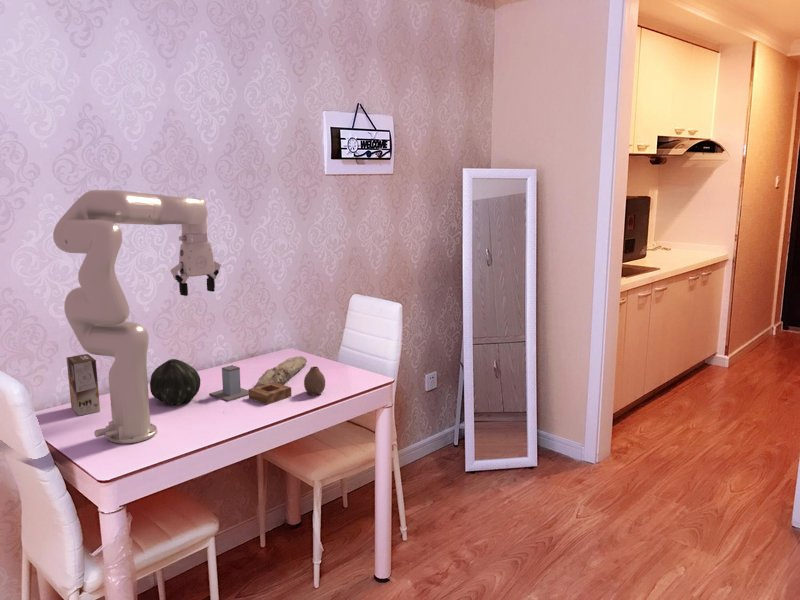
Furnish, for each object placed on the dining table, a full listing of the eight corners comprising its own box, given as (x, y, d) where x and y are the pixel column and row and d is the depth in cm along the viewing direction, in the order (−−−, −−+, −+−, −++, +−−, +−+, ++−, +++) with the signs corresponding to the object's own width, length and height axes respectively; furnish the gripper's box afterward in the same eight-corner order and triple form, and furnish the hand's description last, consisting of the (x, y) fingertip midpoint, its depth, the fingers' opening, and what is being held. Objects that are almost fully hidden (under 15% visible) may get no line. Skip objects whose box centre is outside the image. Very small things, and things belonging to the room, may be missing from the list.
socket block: (267, 404, 201) (266, 395, 200) (248, 398, 206) (248, 389, 206) (291, 396, 209) (291, 387, 208) (273, 390, 214) (272, 381, 214)
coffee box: (101, 411, 194) (96, 359, 191) (78, 416, 190) (73, 363, 187) (92, 403, 201) (88, 353, 198) (70, 407, 197) (65, 356, 194)
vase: (319, 397, 207) (319, 371, 206) (300, 395, 210) (299, 369, 208) (328, 391, 214) (328, 365, 212) (310, 388, 216) (309, 363, 214)
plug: (230, 395, 208) (229, 370, 206) (222, 393, 210) (221, 367, 208) (240, 392, 211) (239, 367, 209) (233, 389, 213) (232, 365, 211)
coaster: (228, 401, 203) (228, 400, 203) (209, 394, 210) (209, 393, 210) (253, 393, 211) (253, 392, 211) (234, 386, 217) (234, 385, 217)
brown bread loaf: (313, 367, 246) (288, 366, 248) (312, 353, 245) (288, 353, 247) (278, 391, 212) (250, 391, 214) (277, 376, 211) (249, 375, 213)
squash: (184, 372, 215) (158, 346, 204) (216, 381, 207) (191, 355, 197) (158, 408, 208) (130, 384, 197) (191, 419, 201) (163, 394, 190)
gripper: (176, 241, 191) (180, 298, 195) (225, 237, 205) (227, 291, 208) (162, 240, 196) (166, 295, 199) (211, 236, 209) (213, 288, 213)
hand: (197, 293), depth 204 cm, fingers open, 9 cm apart
